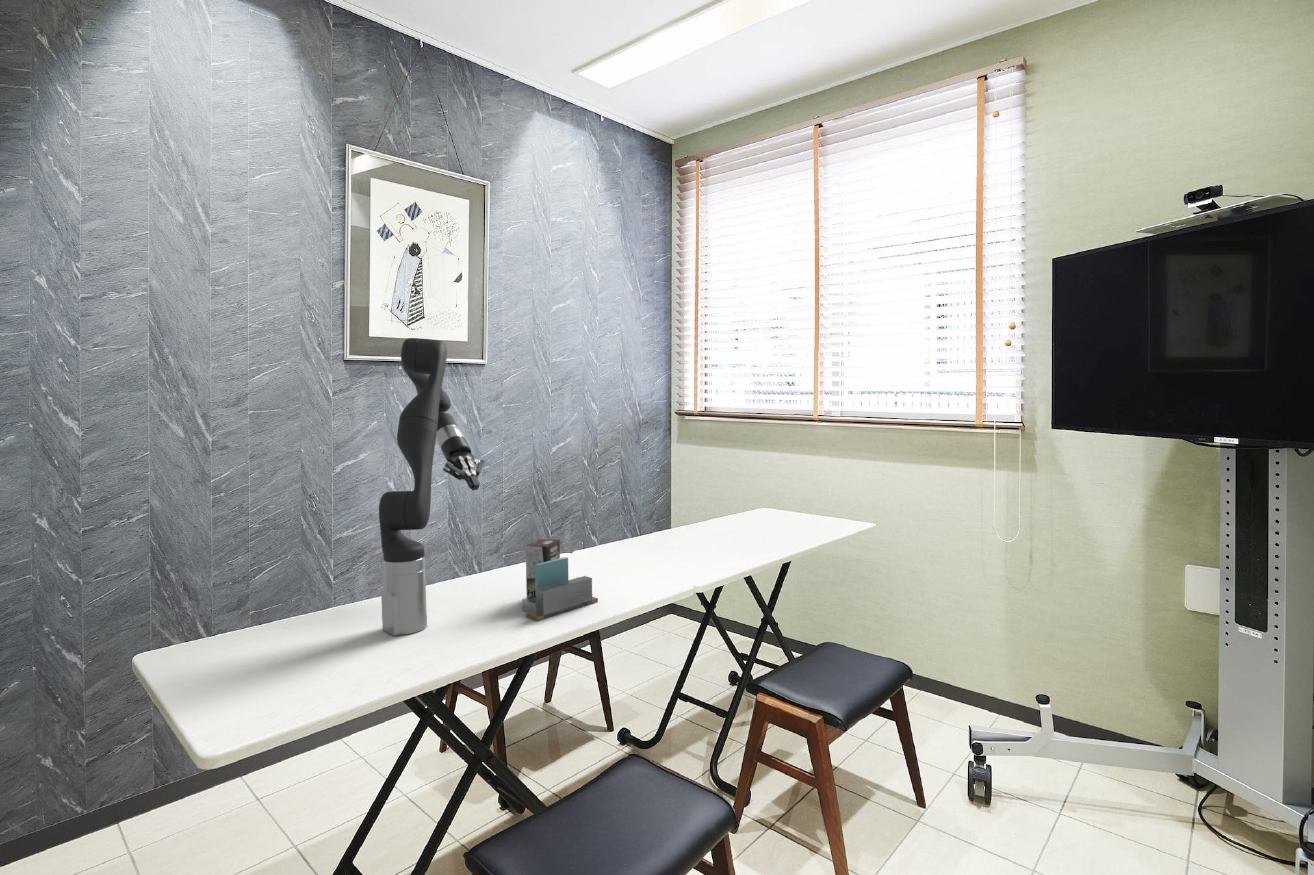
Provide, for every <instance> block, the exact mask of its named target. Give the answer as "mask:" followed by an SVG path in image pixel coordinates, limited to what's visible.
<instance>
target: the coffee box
mask: <svg viewBox="0 0 1314 875" xmlns="http://www.w3.org/2000/svg"><path fill="white" fill-rule="evenodd" d="M560 558H561V540H560V539H555V538H554V539H553V538H551V539H549V538H547V539H544V538H539V539H537V540H534V541H533V542H530V543H528V544H526V545H525V576H526V577H525V578H526V580H525V582H526V584H525V585H526V586H525V587H526V598H528V597H529V596H533V595H536V592H535V564H538V563H543V562H547V561H551V560H555V559H560ZM533 599H536V598H533Z"/></svg>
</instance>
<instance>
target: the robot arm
mask: <svg viewBox="0 0 1314 875" xmlns="http://www.w3.org/2000/svg"><path fill="white" fill-rule="evenodd" d="M446 345H447V344H446V343H445V342H444V341H442V340H438V339H431V338H419V337H418V338H417V337H408V338H406V339H405V340H404V341H403V342H402V345H401V350H400V351H401V352H400V361H401V362H400V363H401V366H402V369H403V371H404V372H405V374H406V375H407V376H408V378H409V379H410V381H411V382H412V384H413V385H414V387H415V390H416V393H417V395H415V396H414V397H413V399H412V400H410V401H409V403H408V404H406V406H405V407H404V408H403V410H402V411H401V413H400V415H399V418H398V420H399V421H398V426H397V427H398V428H397V433H396V442H397V445H398V448H399V450H400V452H401V453H402V455H403V457H404V458H405V460H406V462H407V463H408V465H409V466H410V469H411V471H412V475H413V479H414V480H413V481H414V485H413V486H414V487H413V490H402V491H399V490H397V491H395V490H394V491H386V492H384V493H383V494H382V495H381V497H380V499H379V504H378V519H379V520H378V521H379V530H380V541H381V542H380V544H381V550H382V555H383V556H382V558H383V579H384V580H383V582H384V584H383V585H384V590H382V591H381V593H380V595H381V620H382V621H381V622H382V631H384V632H385V633H388V634H389V635H392V636H393V637H395V636H400V635H401V636H402V635H409V634H415V633H418V632H420V631H423V630H425V629H426V628H427V626H428V614H427V590H426V589H427V588H426V587H427V585H426V584H427V583H426V558H425V557H426V556H425V552H426V551H425V546H424V545H423V544H422V543H421V542H418V541H416V540H414V539H411V538H409V537H407V536H406V535H404V533H402V531H414V530H423V529H425V528H426V527H427V524H428V523H429V520H430V513H431V502H432V500H431V499H432V498H431V497H432V476H433V465H434V464H433V462H434V456H435V447H436V442H437V444H438V446H439V448H440V450H441V453H442V454H443V456H444V458H445V460H446V462H445V463H444V467H443V468H442V470H443V472H445V473H447V474H449V475H450V476H452V477H454V478H455V479H457V480H458V481H462V480H463V481H465V483H466V484H467V486H468V488H469V489H471V491H477V490H479V488H480V486H481V483H480V480H479V479H478V478H479V476H480V474H481V473H482V470H483V468H484V464H485V460H484V459H477V458H476V456H475V455H474V454H473V453H472V449H471V447H470V445H469V443H468V441H467V439H466V437H465V435H464V433H463V432H462V431H461V429H460V428H459V427H458V425H457V423H456V421H455V419H454V417H453V416H452V414H451V413H448V412H447V411H449V410H450V408H451V406H452V403H451V399H450V397H449V395H448V394H447V392H446V391H444V390H443V381H444V375H445V372H446V365H447V358H448V356H447V355H448V353H447V352H448V348H447V346H446ZM475 468H476V470H475Z"/></svg>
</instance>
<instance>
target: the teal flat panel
mask: <svg viewBox="0 0 1314 875" xmlns="http://www.w3.org/2000/svg"><path fill="white" fill-rule="evenodd" d="M568 580H570V578H569V558H568V557H567V556H566V557H560V559H555V560H551V561H547V562H543V563H538V564H535V592H536V589H538V588H542V587H546V586H549V585H553V584H557V583H560V582H564V581H568ZM533 598H536V595H533V596H529V597H528V599H529V600H530V599H533Z"/></svg>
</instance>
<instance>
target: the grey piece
mask: <svg viewBox="0 0 1314 875" xmlns="http://www.w3.org/2000/svg"><path fill="white" fill-rule="evenodd" d="M595 603H599V598H598V597H595V596H593V577H590V576H586V575H583V576H579V577H576V578H572V579H569V580H568V581H564V582H560V583H557V584H553V585H549V586H546V587H542V588H538V589H536V599H530V600H529V599H528V598H527V597H526V598H522V599H521V611H522V612H525V613H526V618H528V619H531V620H533V621H536V622H539V621H542V620H545V619H548V618H551V617H554V616H558V615H562V614H565V613H567V612H570V611H574V610H576V609H580V608H583V607H586V606H590V605H593V604H595Z"/></svg>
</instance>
